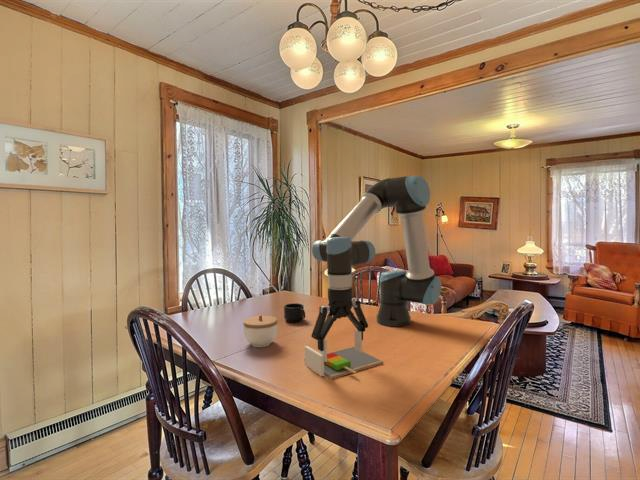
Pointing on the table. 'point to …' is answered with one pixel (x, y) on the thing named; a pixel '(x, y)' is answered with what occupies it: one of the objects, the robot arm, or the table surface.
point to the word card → (314, 360)
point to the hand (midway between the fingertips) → (341, 355)
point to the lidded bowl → (260, 330)
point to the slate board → (357, 362)
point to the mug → (294, 312)
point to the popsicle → (338, 362)
